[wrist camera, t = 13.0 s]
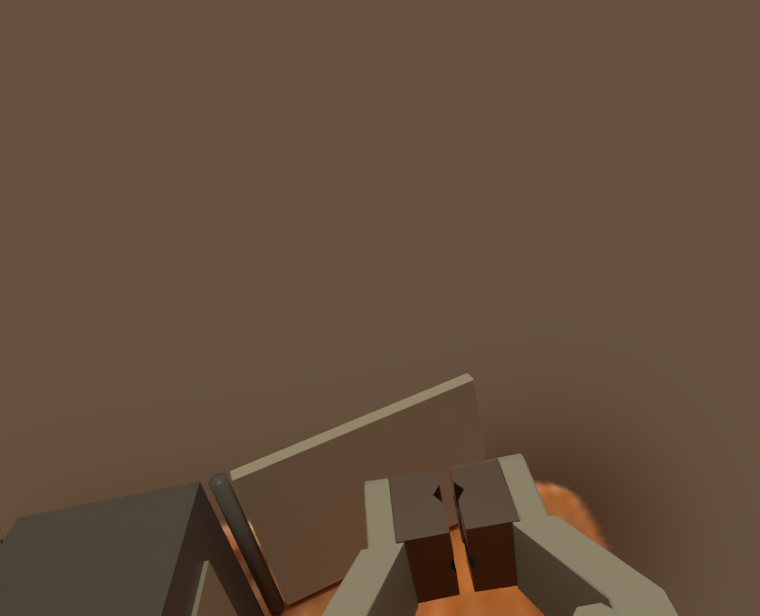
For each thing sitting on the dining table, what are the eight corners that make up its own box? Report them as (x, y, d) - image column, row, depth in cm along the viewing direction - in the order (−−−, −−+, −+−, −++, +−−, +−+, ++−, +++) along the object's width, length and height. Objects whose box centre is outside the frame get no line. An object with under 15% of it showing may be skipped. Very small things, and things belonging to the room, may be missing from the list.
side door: (482, 496, 40) (463, 368, 34) (492, 508, 38) (474, 379, 33) (266, 599, 36) (207, 474, 30) (270, 616, 35) (209, 489, 29)
